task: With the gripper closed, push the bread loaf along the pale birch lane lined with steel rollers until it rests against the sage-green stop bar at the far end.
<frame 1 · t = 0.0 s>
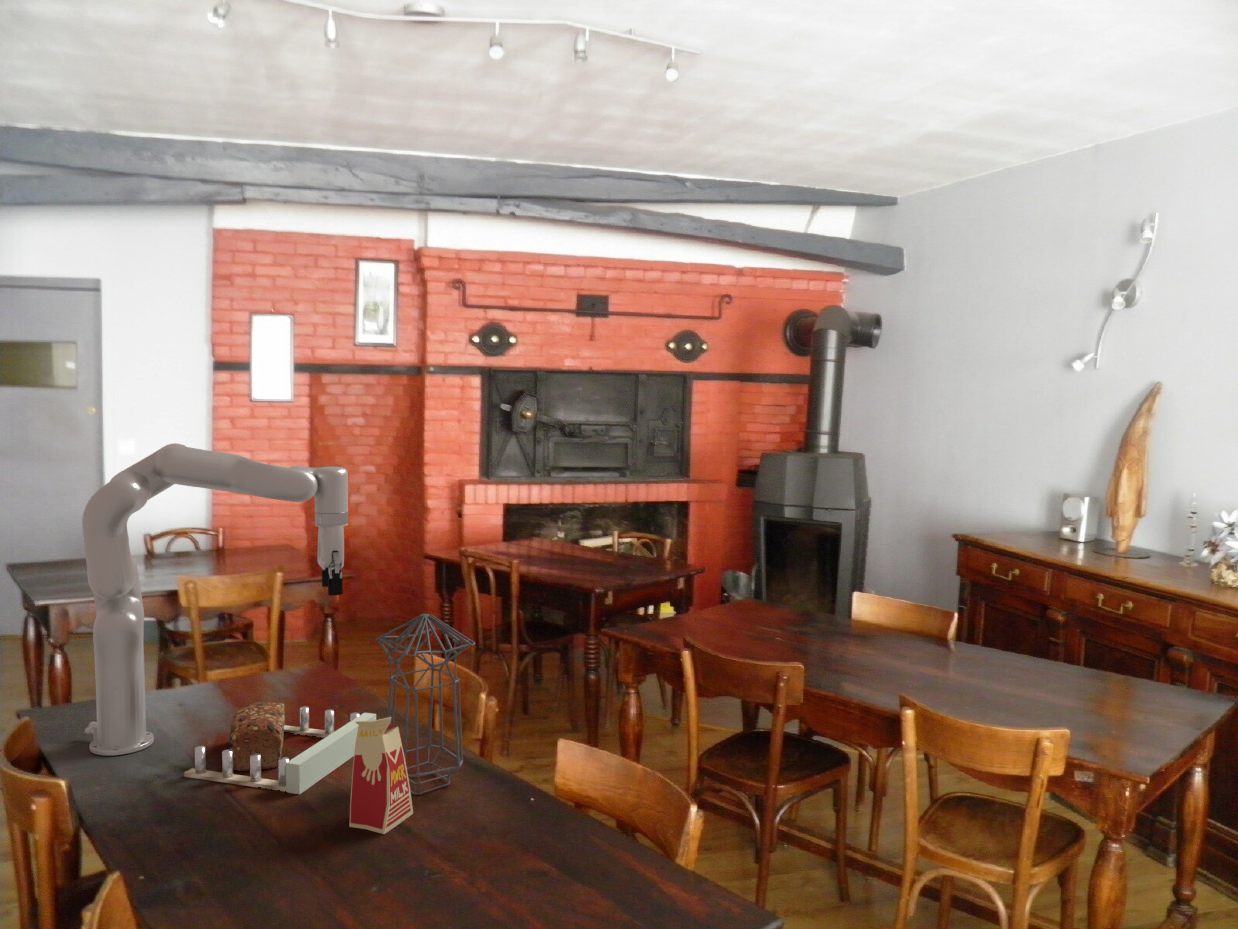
hand: (332, 590, 226), 31 cm above the table, tool pointing down, fingers open, 9 cm apart
milk carton: (378, 821, 177), on the table
geometric lantern: (424, 784, 193), on the table
bread: (258, 755, 207), on the table
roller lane: (282, 757, 205), on the table
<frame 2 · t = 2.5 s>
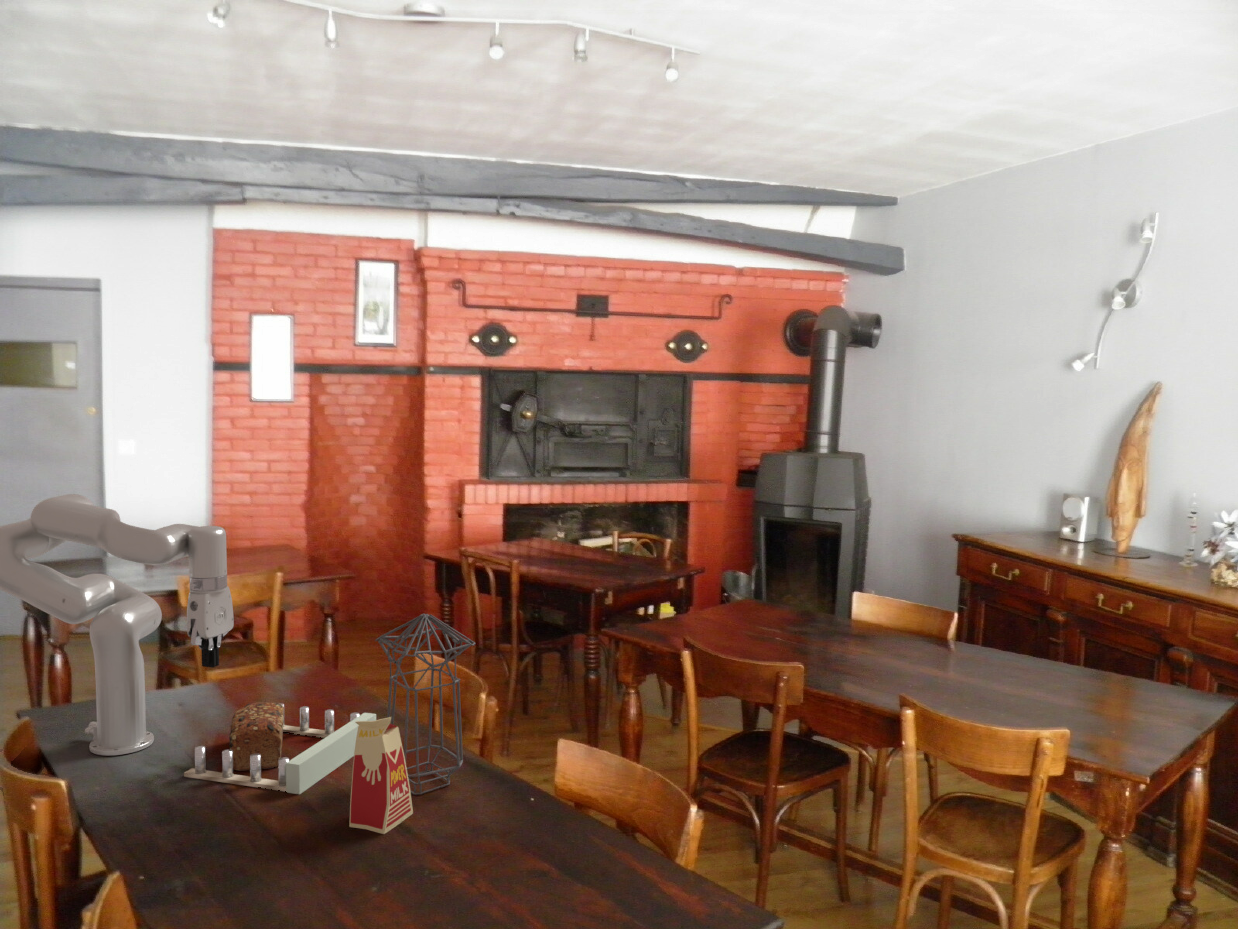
hand: (210, 666, 208), 18 cm above the table, tool pointing down, fingers closed
nothing on the table moved.
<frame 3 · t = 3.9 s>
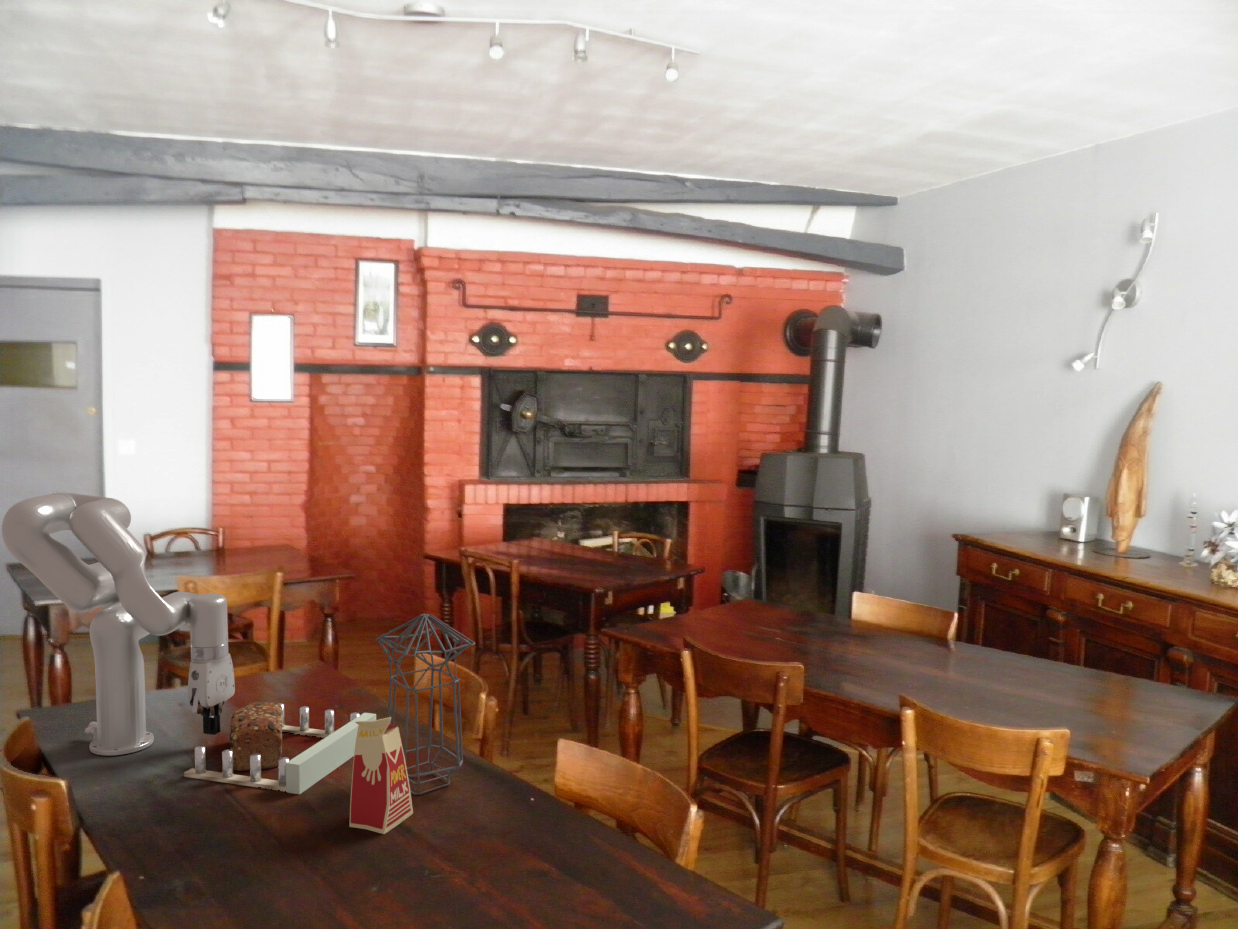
hand: (211, 732, 210), 3 cm above the table, tool pointing down, fingers closed
nothing on the table moved.
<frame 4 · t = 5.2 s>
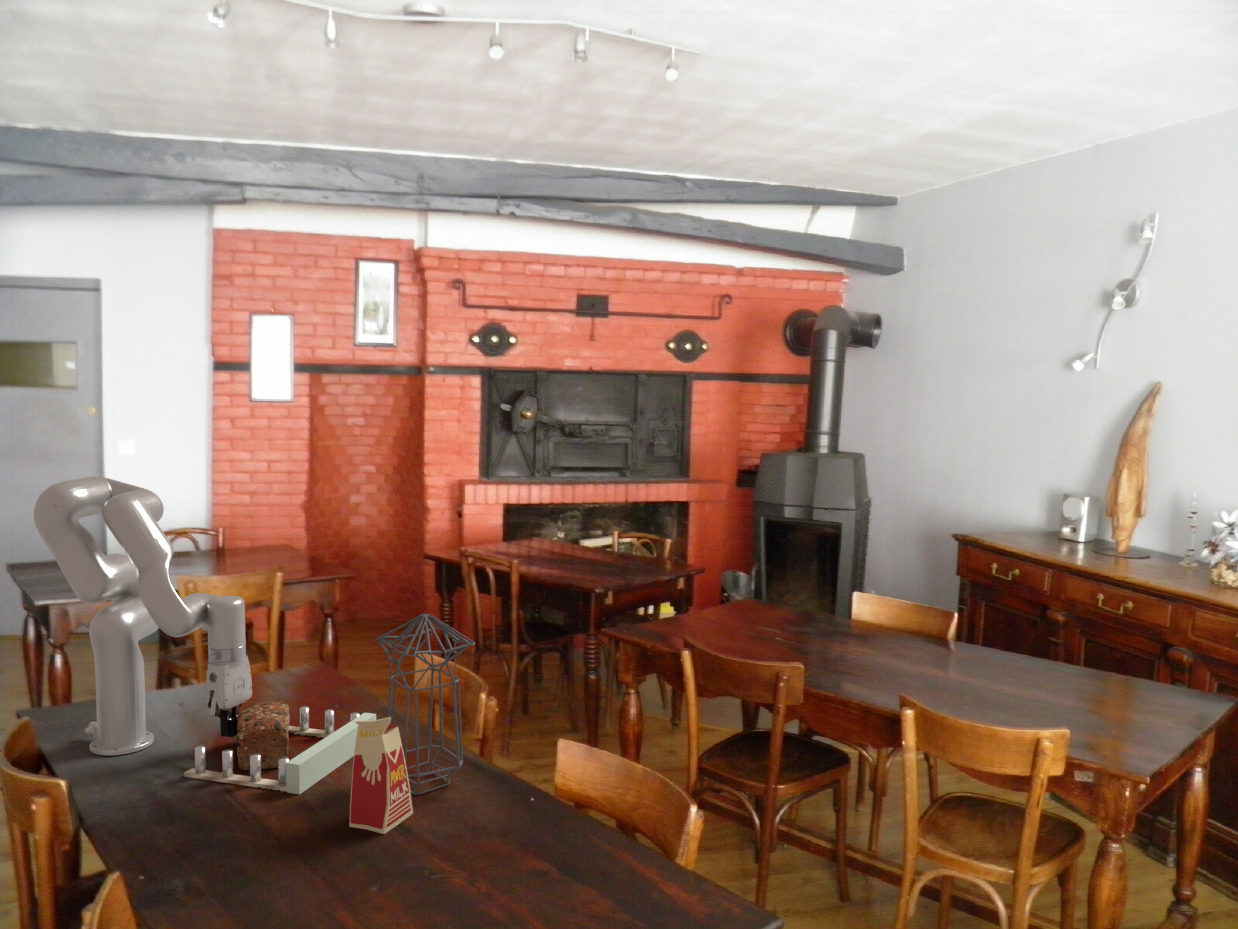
hand: (229, 735, 208), 3 cm above the table, tool pointing down, fingers closed
bread: (264, 755, 207), on the table, touching gripper
everything else where it was.
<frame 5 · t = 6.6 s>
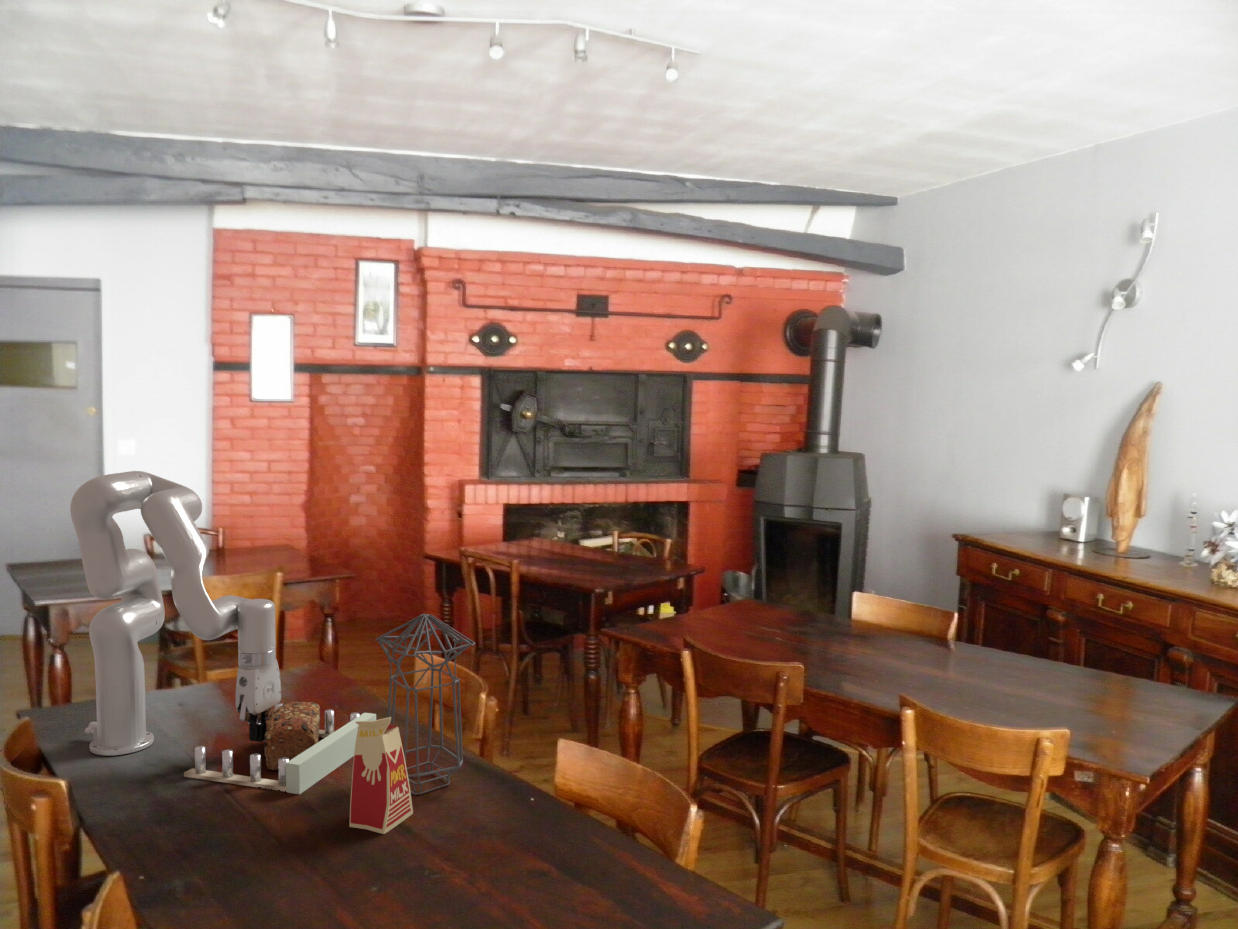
hand: (258, 740, 206), 3 cm above the table, tool pointing down, fingers closed
bread: (293, 755, 207), on the table, touching gripper, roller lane
everything else where it was.
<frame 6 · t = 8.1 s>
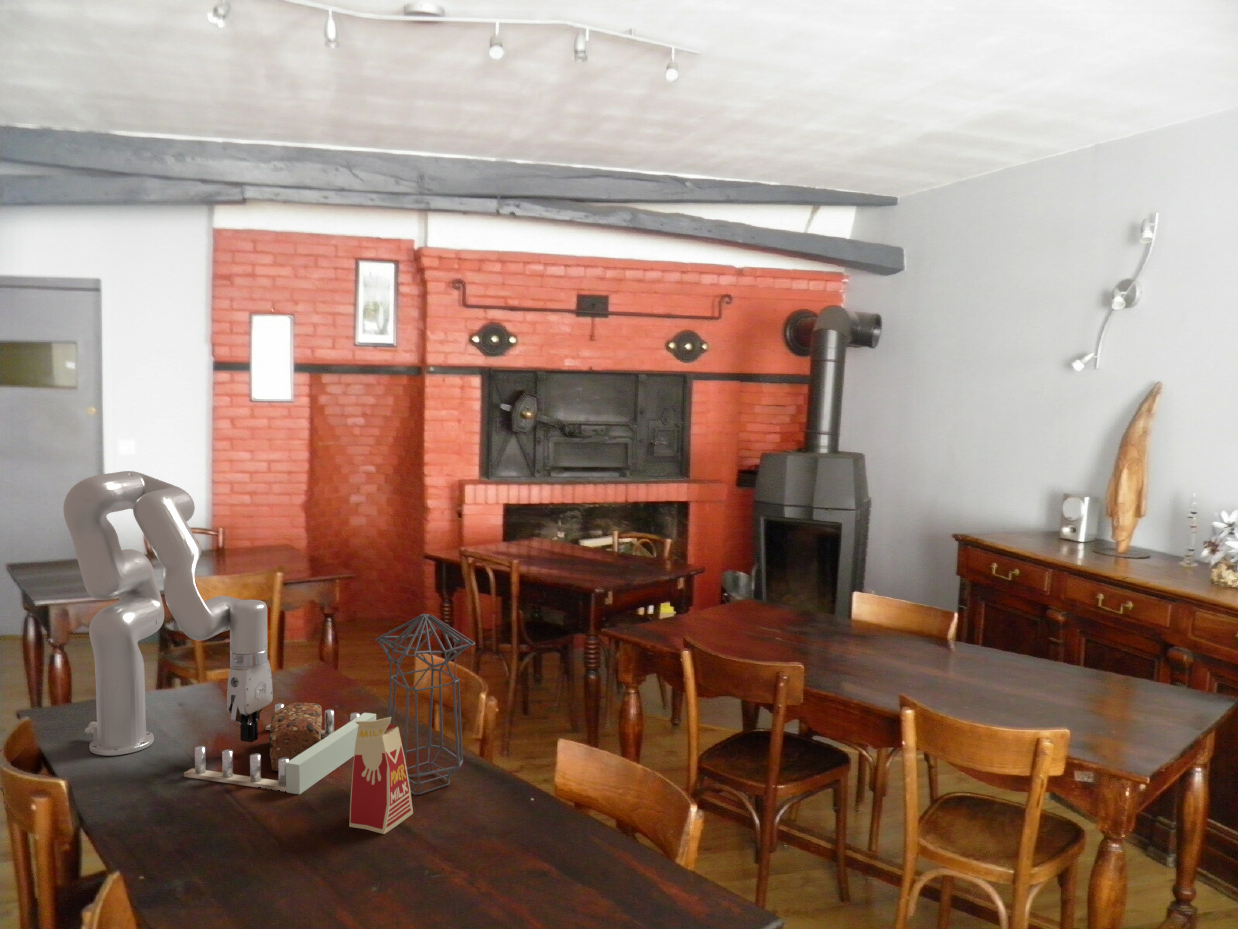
hand: (249, 740, 207), 3 cm above the table, tool pointing down, fingers closed
bread: (296, 756, 207), on the table
everything else where it was.
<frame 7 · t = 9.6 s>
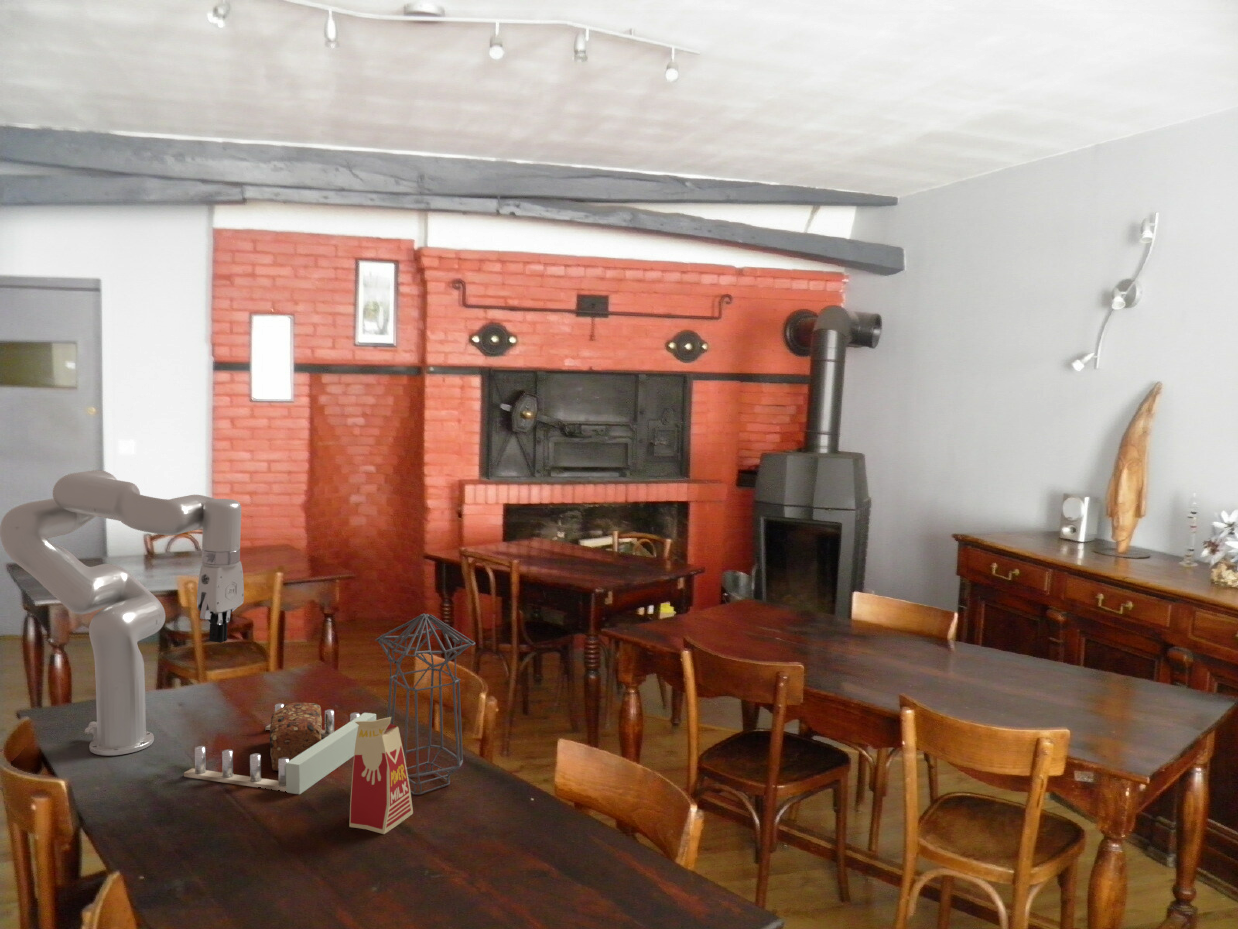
hand: (218, 640, 205), 25 cm above the table, tool pointing down, fingers closed
nothing on the table moved.
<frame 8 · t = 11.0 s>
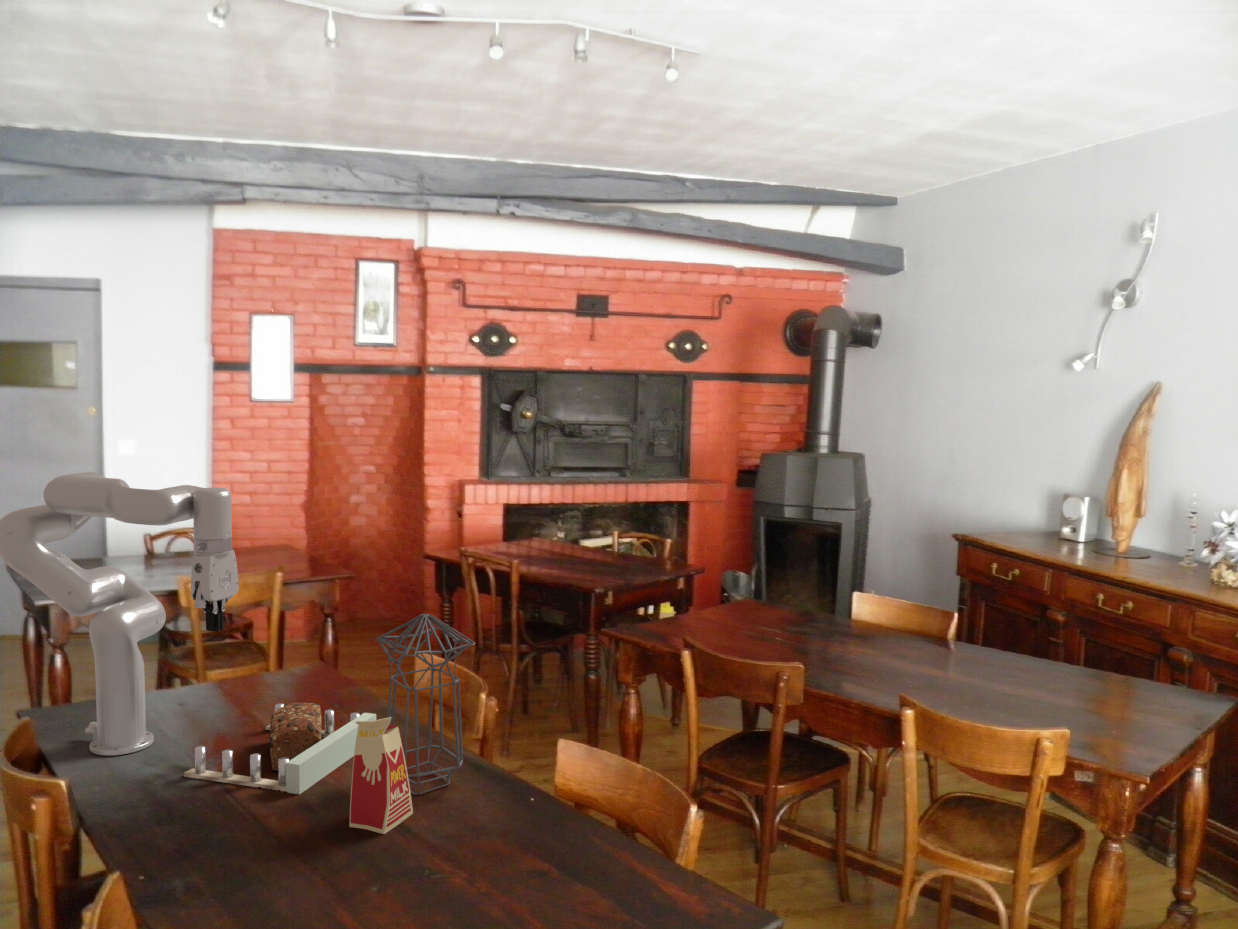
hand: (214, 630, 205), 27 cm above the table, tool pointing down, fingers closed
nothing on the table moved.
at the end: bread inside the target area (2.5 cm from its centre), on the table; bread tilted 0°; bread moved 8.1 cm from its start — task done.
